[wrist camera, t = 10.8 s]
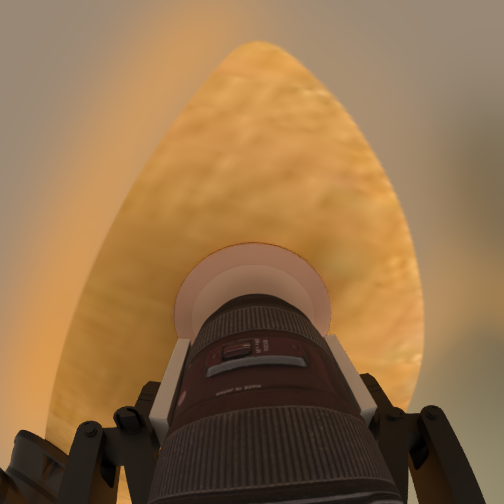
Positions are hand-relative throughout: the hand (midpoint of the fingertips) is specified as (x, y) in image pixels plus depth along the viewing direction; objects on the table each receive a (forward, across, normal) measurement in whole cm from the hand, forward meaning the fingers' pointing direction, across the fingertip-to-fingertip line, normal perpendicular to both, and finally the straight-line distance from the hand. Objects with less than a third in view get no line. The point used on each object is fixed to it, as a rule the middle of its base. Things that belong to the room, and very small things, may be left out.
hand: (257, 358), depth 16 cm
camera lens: (+3, 0, 0) cm, 3 cm away
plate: (+5, 0, 0) cm, 5 cm away
